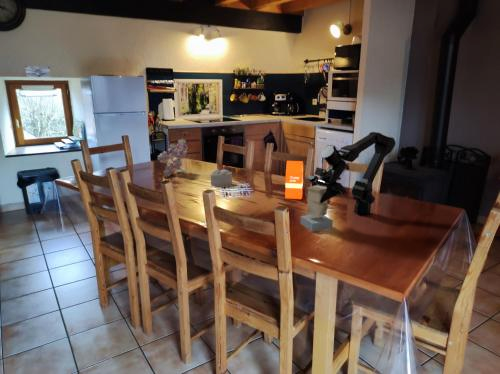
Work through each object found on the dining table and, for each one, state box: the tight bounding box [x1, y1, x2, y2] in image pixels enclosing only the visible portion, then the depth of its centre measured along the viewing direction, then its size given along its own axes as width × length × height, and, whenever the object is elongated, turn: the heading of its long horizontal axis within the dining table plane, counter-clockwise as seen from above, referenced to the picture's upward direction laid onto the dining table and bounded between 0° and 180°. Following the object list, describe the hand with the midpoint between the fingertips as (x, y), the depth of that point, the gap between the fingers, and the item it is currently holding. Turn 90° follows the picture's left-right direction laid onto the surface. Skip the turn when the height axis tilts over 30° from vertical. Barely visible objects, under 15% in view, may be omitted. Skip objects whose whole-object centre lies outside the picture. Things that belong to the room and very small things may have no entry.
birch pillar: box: [306, 185, 328, 218], centre depth 158 cm, size 6×6×12 cm
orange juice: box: [284, 160, 304, 200], centre depth 199 cm, size 8×9×20 cm
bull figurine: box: [305, 186, 310, 200], centre depth 191 cm, size 4×13×8 cm, turn 16°
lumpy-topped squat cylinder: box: [210, 168, 233, 187], centre depth 227 cm, size 10×13×9 cm
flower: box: [157, 138, 188, 177], centre depth 252 cm, size 20×22×25 cm
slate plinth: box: [300, 214, 334, 233], centre depth 160 cm, size 10×10×4 cm
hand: (315, 200), depth 157 cm, fingers closed on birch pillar, 6 cm apart
